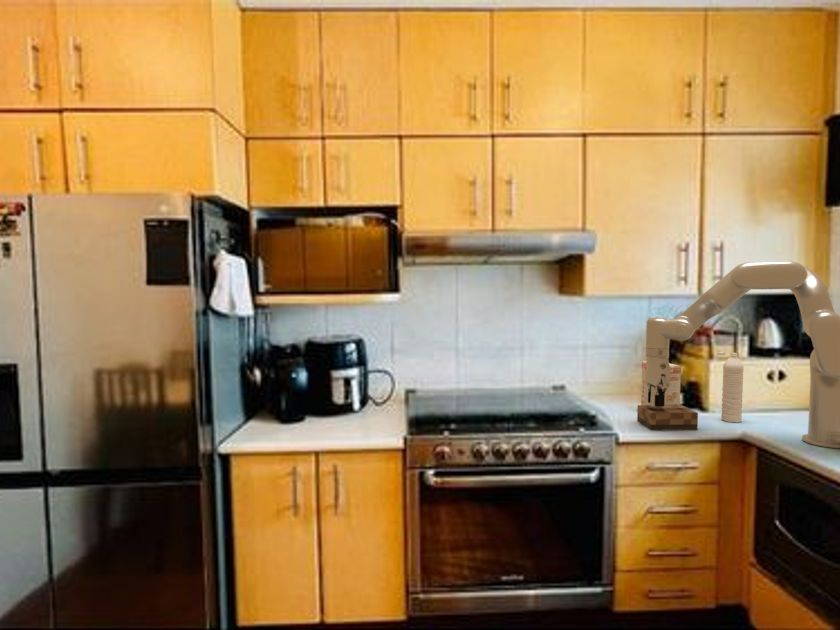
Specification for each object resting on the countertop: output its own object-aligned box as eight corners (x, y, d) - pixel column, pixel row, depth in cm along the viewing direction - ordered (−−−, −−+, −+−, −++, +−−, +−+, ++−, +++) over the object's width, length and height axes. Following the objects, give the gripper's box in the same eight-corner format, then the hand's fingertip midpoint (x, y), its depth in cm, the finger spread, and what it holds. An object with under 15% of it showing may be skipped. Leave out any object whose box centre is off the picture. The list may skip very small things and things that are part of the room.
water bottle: (738, 418, 213) (740, 351, 211) (743, 423, 207) (746, 354, 205) (712, 417, 215) (714, 351, 213) (717, 421, 209) (719, 353, 207)
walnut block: (697, 430, 198) (697, 412, 197) (651, 430, 197) (651, 413, 197) (680, 421, 209) (681, 405, 209) (637, 421, 209) (637, 405, 209)
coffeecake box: (680, 417, 216) (681, 365, 215) (663, 418, 214) (664, 366, 213) (656, 408, 230) (657, 359, 229) (640, 409, 229) (641, 360, 228)
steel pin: (663, 421, 201) (665, 387, 200) (652, 421, 201) (654, 387, 200) (658, 418, 205) (660, 385, 204) (647, 418, 205) (649, 385, 204)
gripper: (679, 356, 193) (677, 409, 194) (657, 349, 210) (656, 399, 211) (657, 356, 193) (655, 410, 194) (637, 350, 210) (635, 399, 211)
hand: (655, 403), depth 203 cm, fingers open, 4 cm apart
